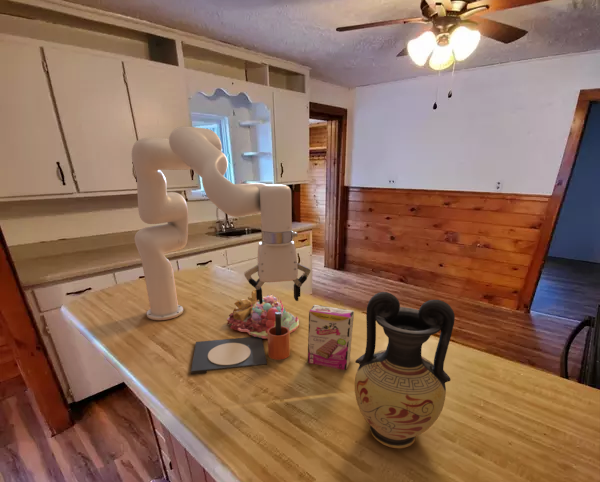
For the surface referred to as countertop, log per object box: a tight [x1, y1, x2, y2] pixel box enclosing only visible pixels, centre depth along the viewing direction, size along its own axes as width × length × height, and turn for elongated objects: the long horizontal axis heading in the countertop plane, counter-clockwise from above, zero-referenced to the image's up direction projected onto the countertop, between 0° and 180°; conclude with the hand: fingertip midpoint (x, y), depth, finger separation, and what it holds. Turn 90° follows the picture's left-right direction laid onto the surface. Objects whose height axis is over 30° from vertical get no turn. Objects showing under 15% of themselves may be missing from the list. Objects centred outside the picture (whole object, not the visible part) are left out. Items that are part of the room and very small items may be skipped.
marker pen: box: [275, 312, 281, 336], centre depth 95 cm, size 2×2×13 cm
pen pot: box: [267, 326, 291, 361], centre depth 96 cm, size 6×6×8 cm
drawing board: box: [190, 336, 268, 375], centre depth 97 cm, size 16×20×1 cm
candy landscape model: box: [226, 289, 299, 340], centre depth 115 cm, size 25×24×9 cm
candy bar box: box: [307, 304, 355, 371], centre depth 90 cm, size 11×5×16 cm, turn 71°
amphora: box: [354, 291, 456, 449], centre depth 64 cm, size 18×17×30 cm
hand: (278, 300), depth 90 cm, fingers open, 9 cm apart
